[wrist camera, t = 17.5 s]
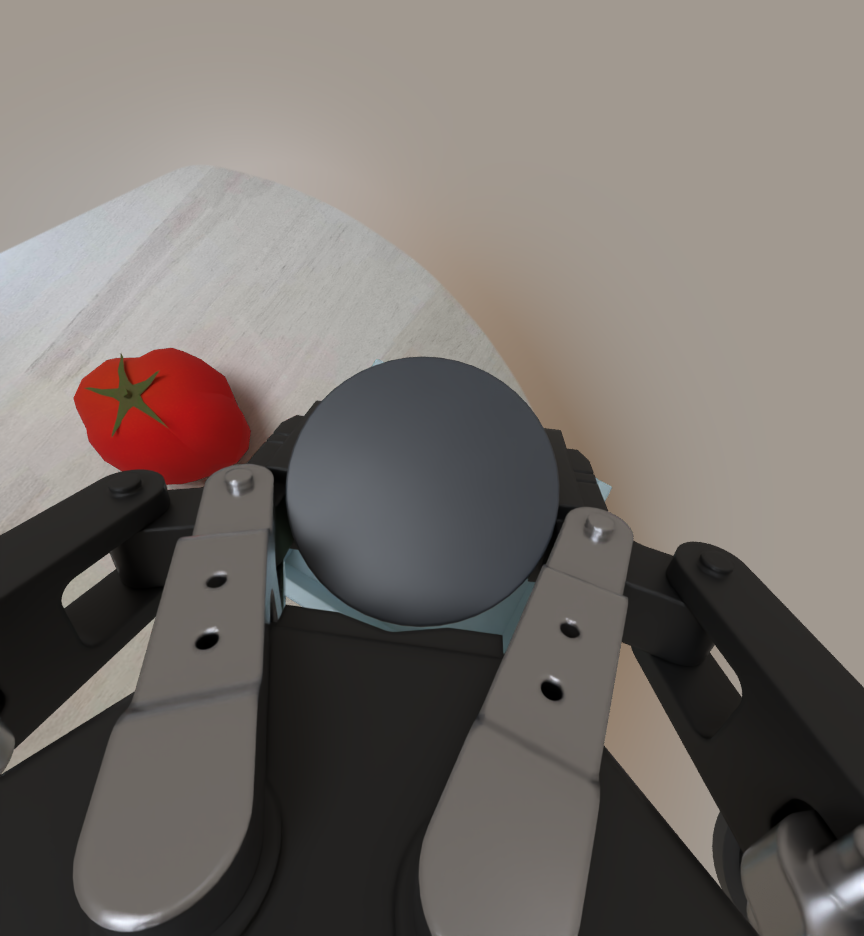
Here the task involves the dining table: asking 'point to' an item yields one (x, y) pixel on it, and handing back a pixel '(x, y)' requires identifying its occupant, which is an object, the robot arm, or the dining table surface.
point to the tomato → (163, 415)
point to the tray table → (495, 620)
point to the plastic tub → (422, 491)
